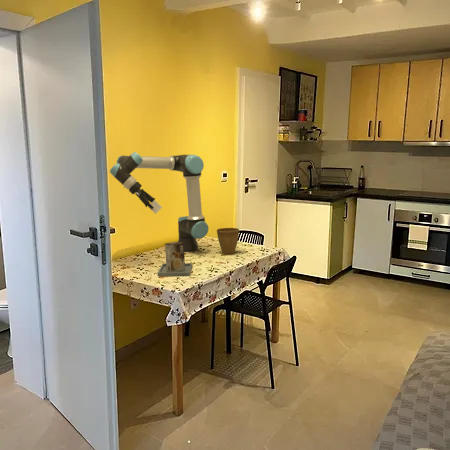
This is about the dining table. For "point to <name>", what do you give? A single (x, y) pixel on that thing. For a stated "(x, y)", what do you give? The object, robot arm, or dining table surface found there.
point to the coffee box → (175, 256)
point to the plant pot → (228, 239)
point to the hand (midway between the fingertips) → (159, 210)
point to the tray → (186, 272)
